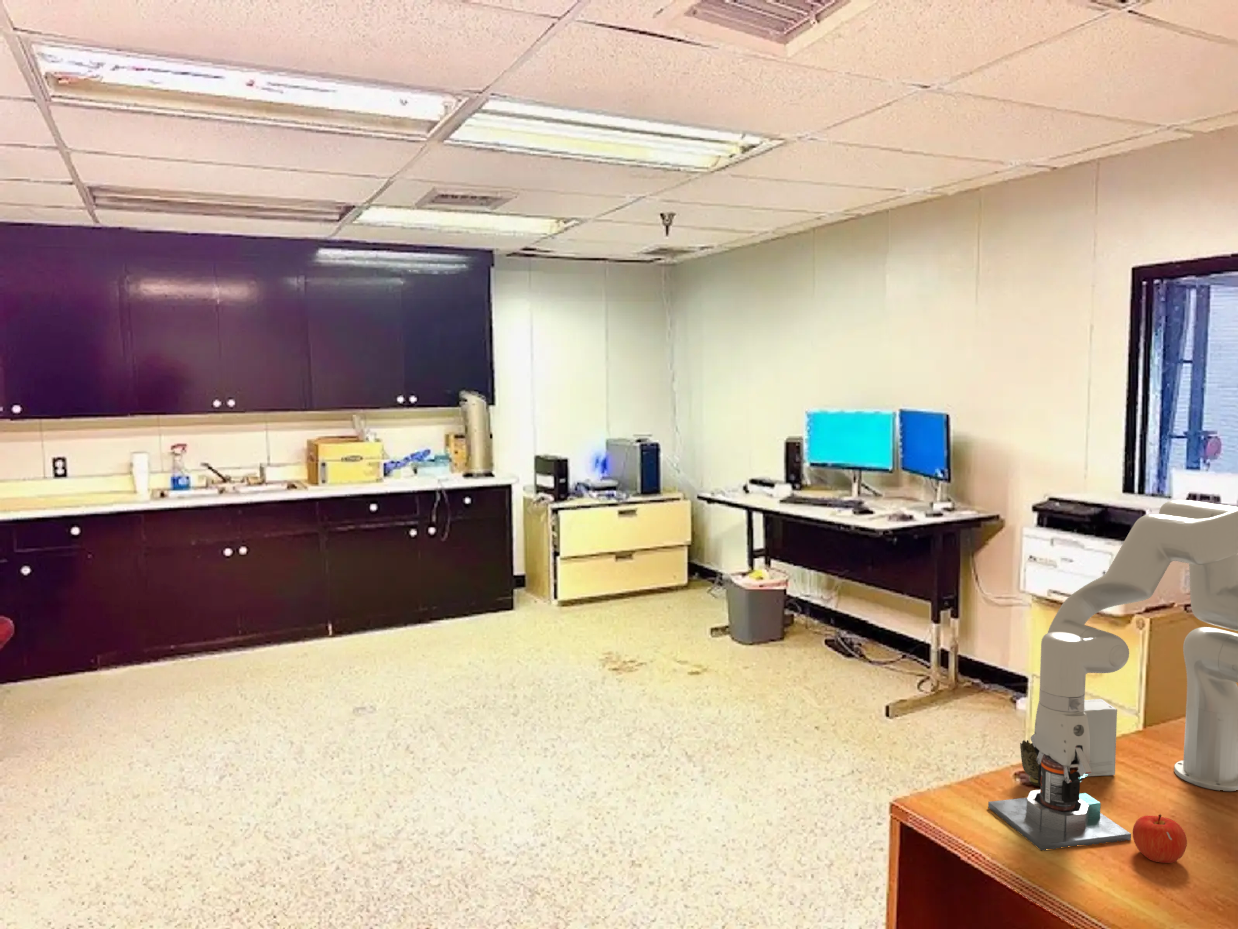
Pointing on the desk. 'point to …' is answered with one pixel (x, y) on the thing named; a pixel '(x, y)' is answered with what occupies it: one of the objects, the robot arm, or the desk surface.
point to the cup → (1029, 761)
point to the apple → (1159, 838)
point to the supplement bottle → (1053, 785)
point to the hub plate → (1056, 836)
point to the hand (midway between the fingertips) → (1058, 792)
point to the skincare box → (1101, 736)
